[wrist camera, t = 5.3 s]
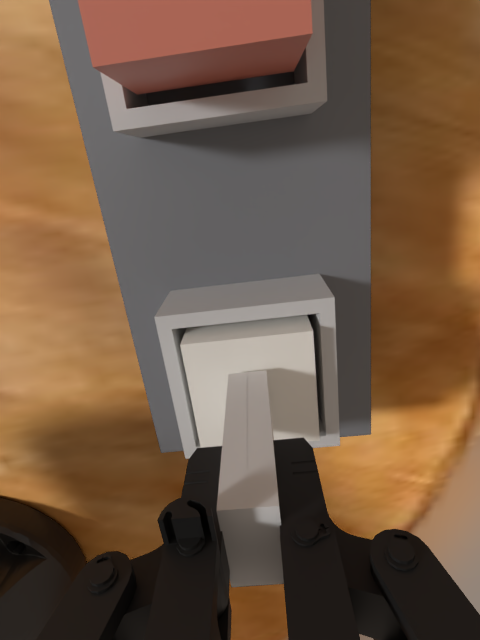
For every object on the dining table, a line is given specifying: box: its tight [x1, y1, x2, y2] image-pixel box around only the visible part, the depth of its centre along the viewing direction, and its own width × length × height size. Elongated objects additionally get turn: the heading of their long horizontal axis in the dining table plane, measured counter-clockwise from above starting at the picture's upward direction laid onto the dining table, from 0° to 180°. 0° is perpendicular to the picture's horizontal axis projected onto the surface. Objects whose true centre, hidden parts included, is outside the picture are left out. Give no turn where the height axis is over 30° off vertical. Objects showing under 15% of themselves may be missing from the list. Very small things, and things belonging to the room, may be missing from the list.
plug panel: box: [49, 0, 371, 459], centre depth 18 cm, size 26×12×8 cm, turn 7°
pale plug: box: [180, 315, 320, 448], centre depth 18 cm, size 5×5×4 cm
